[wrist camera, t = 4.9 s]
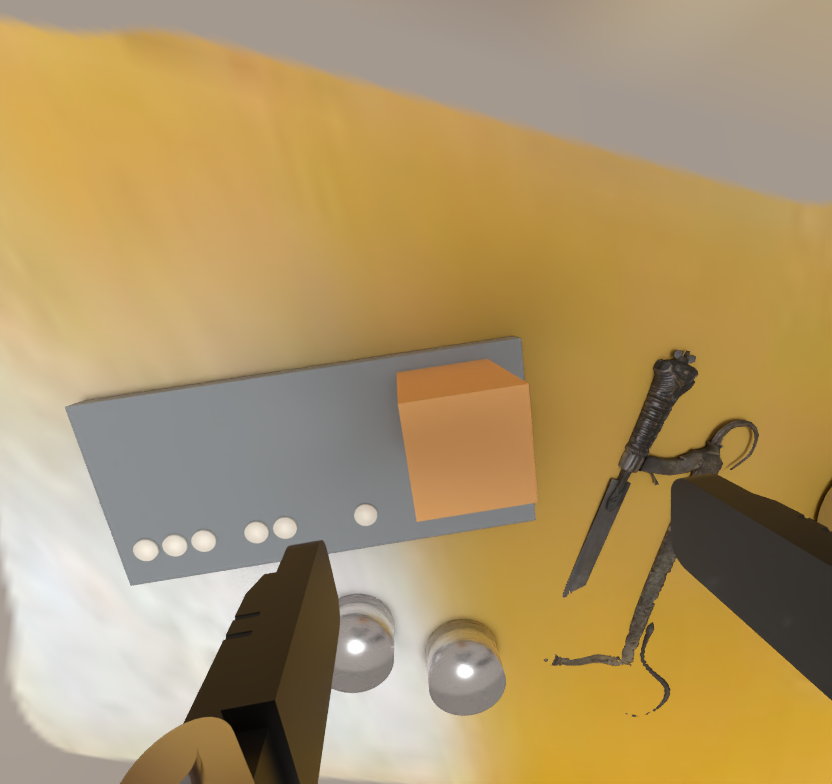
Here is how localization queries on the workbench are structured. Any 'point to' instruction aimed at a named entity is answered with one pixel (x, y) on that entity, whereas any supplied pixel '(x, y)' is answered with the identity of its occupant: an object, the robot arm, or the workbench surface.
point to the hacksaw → (660, 399)
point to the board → (266, 464)
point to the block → (466, 438)
